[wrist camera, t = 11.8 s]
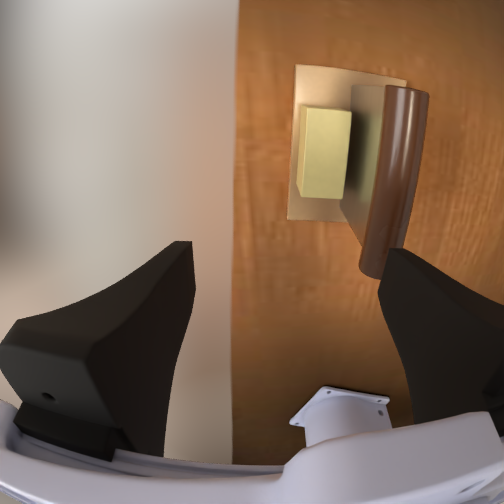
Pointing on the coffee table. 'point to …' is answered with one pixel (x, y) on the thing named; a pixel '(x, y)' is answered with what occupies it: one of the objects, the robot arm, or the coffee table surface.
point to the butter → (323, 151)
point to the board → (328, 95)
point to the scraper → (383, 168)
